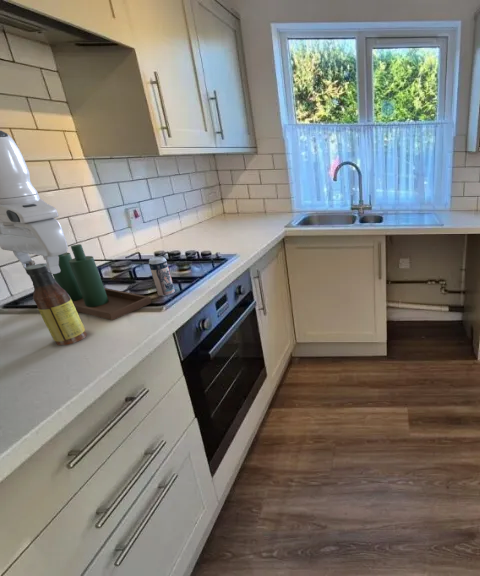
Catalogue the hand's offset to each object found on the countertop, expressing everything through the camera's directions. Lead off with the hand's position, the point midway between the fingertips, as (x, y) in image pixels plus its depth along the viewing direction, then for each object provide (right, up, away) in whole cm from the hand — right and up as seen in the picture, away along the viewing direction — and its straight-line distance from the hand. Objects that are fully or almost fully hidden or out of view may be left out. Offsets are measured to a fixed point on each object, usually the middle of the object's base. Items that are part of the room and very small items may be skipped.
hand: (42, 270), depth 82 cm
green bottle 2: (-8, -8, +26) cm, 29 cm away
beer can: (+9, -6, +33) cm, 35 cm away
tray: (-8, -9, +27) cm, 29 cm away
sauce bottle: (0, -17, +7) cm, 19 cm away
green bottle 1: (-19, -7, +30) cm, 36 cm away
